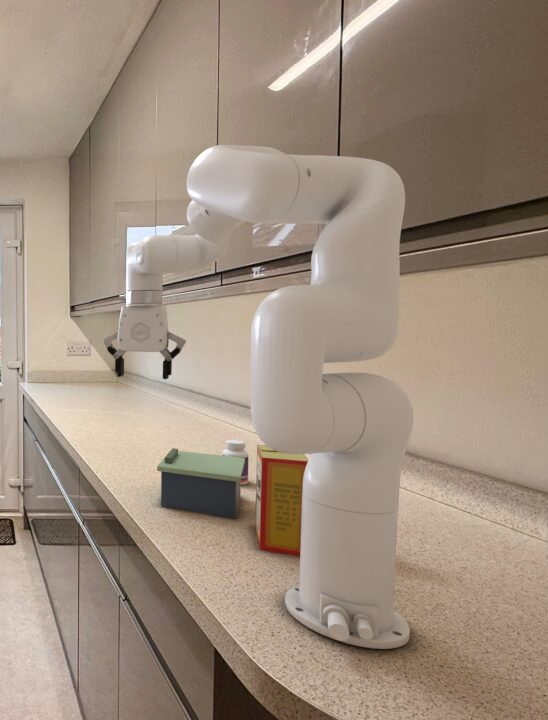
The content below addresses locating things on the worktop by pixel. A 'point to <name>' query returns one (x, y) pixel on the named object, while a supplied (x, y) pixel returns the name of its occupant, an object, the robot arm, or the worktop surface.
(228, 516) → the storage bin
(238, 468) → the bin lid
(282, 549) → the baking soda box
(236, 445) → the pill bottle
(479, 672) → the worktop surface
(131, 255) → the robot arm
